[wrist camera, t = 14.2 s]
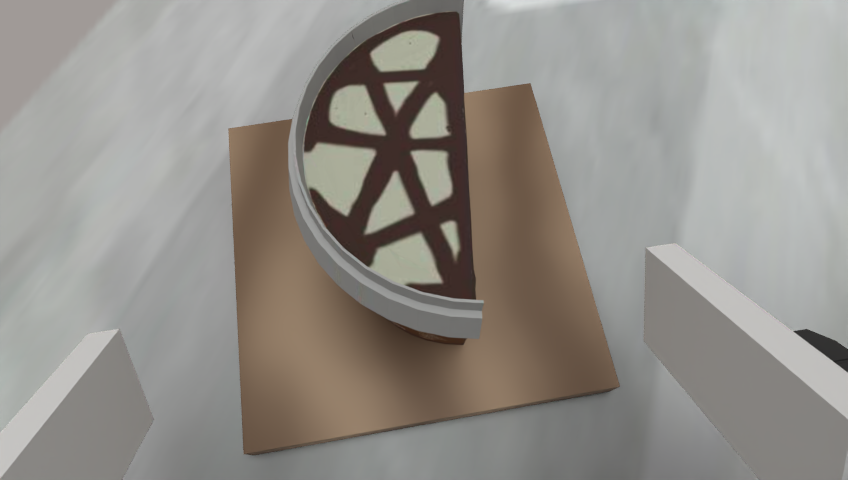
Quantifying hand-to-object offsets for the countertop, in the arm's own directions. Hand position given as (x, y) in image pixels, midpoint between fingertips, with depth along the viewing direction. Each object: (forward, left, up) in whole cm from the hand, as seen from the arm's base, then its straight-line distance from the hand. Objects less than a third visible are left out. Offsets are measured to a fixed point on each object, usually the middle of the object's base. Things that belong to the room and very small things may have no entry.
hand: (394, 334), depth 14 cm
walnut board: (-1, -7, -12) cm, 14 cm away
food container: (0, -7, -11) cm, 13 cm away
